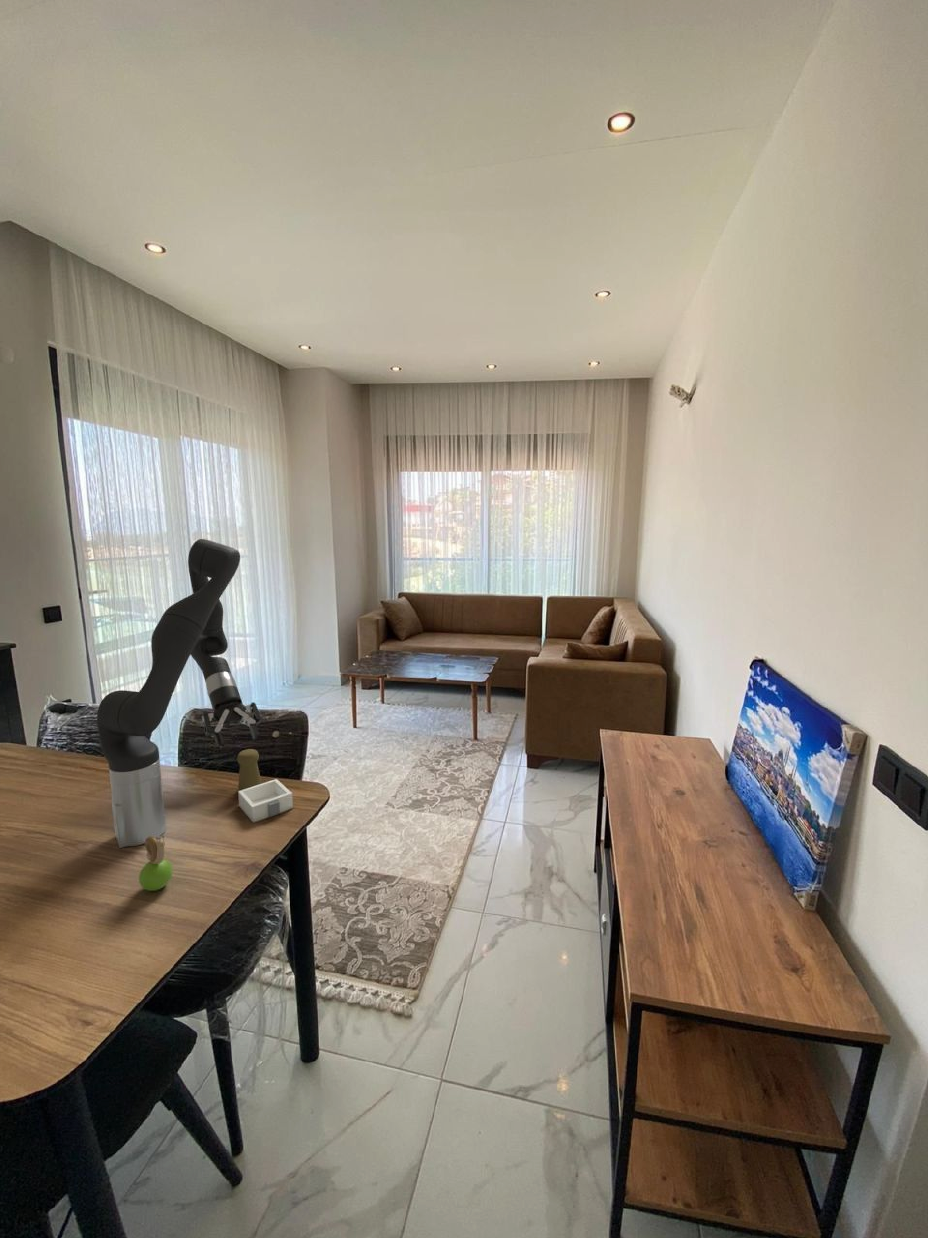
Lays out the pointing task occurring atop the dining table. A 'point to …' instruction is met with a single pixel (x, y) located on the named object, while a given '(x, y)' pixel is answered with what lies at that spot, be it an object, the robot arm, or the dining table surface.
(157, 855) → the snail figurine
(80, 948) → the dining table surface
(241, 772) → the cork
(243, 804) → the box
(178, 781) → the dining table surface
